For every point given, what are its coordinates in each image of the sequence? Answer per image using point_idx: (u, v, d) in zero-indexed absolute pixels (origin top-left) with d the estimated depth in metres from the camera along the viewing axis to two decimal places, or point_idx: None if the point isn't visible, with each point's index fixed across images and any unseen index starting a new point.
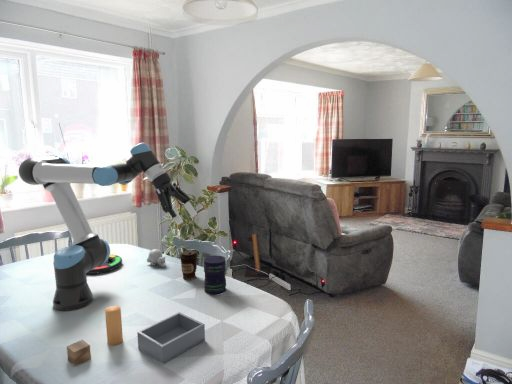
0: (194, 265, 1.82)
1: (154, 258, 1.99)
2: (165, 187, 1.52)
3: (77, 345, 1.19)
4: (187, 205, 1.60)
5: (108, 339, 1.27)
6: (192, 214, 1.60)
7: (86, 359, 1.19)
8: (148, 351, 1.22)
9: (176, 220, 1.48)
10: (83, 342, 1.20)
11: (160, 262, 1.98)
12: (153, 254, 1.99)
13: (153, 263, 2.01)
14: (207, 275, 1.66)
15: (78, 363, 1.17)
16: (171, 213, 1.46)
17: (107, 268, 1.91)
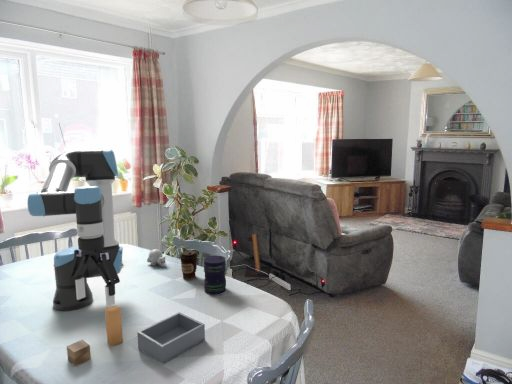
0: (194, 265, 1.82)
1: (155, 258, 1.99)
2: (84, 253, 1.17)
3: (77, 345, 1.19)
4: None
5: (108, 339, 1.27)
6: None
7: (86, 359, 1.19)
8: (148, 351, 1.22)
9: None
10: (83, 342, 1.20)
11: (160, 262, 1.98)
12: (153, 254, 1.99)
13: (153, 263, 2.00)
14: (207, 275, 1.66)
15: (78, 363, 1.17)
16: None
17: None
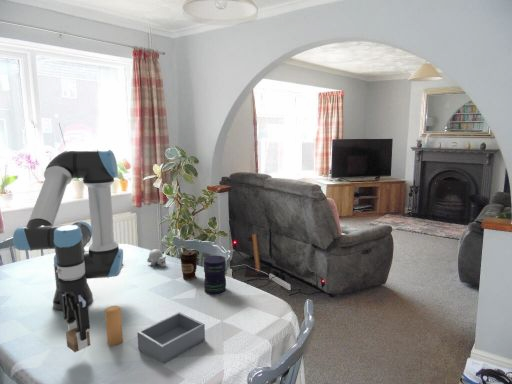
0: (194, 265, 1.82)
1: (155, 258, 1.99)
2: None
3: None
4: None
5: (108, 339, 1.27)
6: None
7: None
8: (148, 351, 1.22)
9: None
10: None
11: (160, 262, 1.98)
12: (154, 254, 1.99)
13: (153, 263, 2.00)
14: (207, 275, 1.66)
15: (77, 349, 1.16)
16: None
17: None
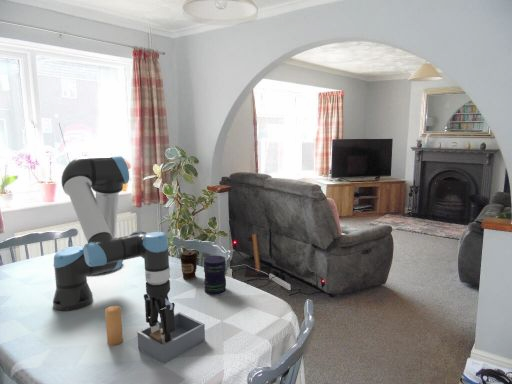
0: (194, 265, 1.82)
1: None
2: None
3: (159, 333, 1.23)
4: None
5: (108, 339, 1.27)
6: None
7: None
8: (148, 351, 1.22)
9: None
10: None
11: None
12: None
13: None
14: (207, 275, 1.66)
15: None
16: None
17: None
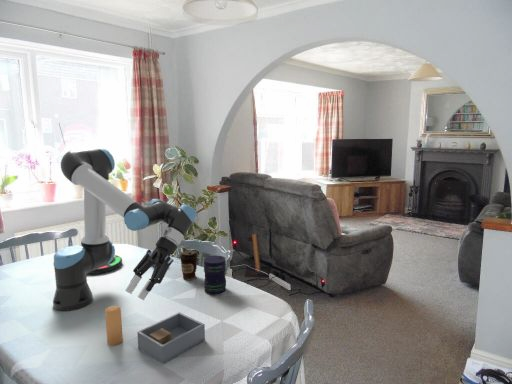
0: (194, 265, 1.82)
1: None
2: (156, 250, 1.42)
3: (159, 333, 1.23)
4: None
5: (108, 339, 1.27)
6: None
7: None
8: (148, 351, 1.22)
9: None
10: (164, 330, 1.25)
11: None
12: None
13: None
14: (207, 275, 1.66)
15: None
16: None
17: (107, 268, 1.91)
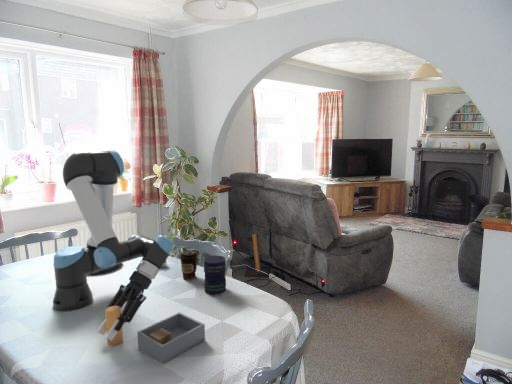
0: (194, 265, 1.82)
1: None
2: (129, 284, 1.35)
3: (159, 333, 1.23)
4: None
5: (108, 339, 1.27)
6: None
7: None
8: (148, 351, 1.22)
9: None
10: (164, 330, 1.25)
11: None
12: None
13: None
14: (207, 275, 1.66)
15: None
16: None
17: None
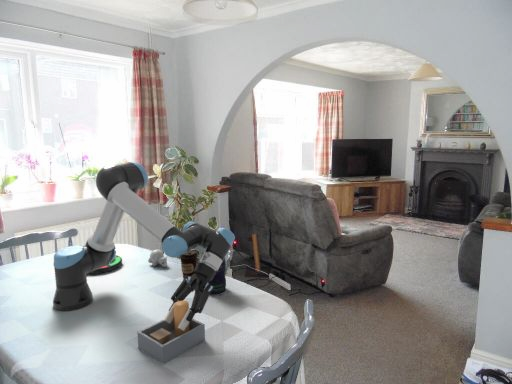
0: (194, 265, 1.82)
1: (156, 258, 1.98)
2: (194, 276, 1.36)
3: (159, 333, 1.23)
4: None
5: (177, 333, 1.29)
6: None
7: None
8: (148, 351, 1.22)
9: None
10: (164, 330, 1.25)
11: (162, 262, 1.97)
12: (155, 254, 1.98)
13: (154, 264, 2.00)
14: None
15: None
16: None
17: (107, 268, 1.91)
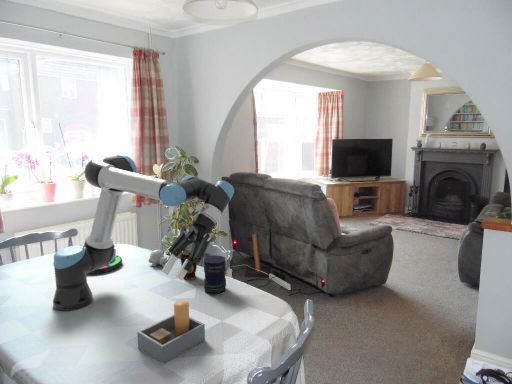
0: (194, 265, 1.82)
1: (156, 258, 1.98)
2: (192, 228, 1.33)
3: (159, 333, 1.23)
4: None
5: (177, 333, 1.29)
6: None
7: None
8: (148, 351, 1.22)
9: None
10: (164, 330, 1.25)
11: (162, 263, 1.97)
12: (155, 254, 1.98)
13: (154, 264, 2.00)
14: (207, 275, 1.66)
15: None
16: None
17: (106, 268, 1.91)
